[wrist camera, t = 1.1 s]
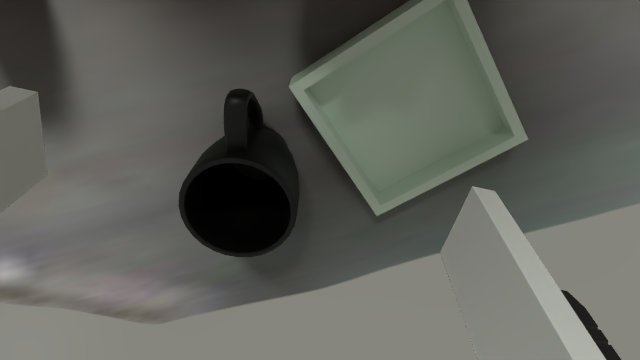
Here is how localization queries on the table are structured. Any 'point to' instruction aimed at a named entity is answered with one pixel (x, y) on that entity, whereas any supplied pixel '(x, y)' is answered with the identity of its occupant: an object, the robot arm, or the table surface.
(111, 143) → the table surface
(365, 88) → the tray
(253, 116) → the mug
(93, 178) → the table surface
